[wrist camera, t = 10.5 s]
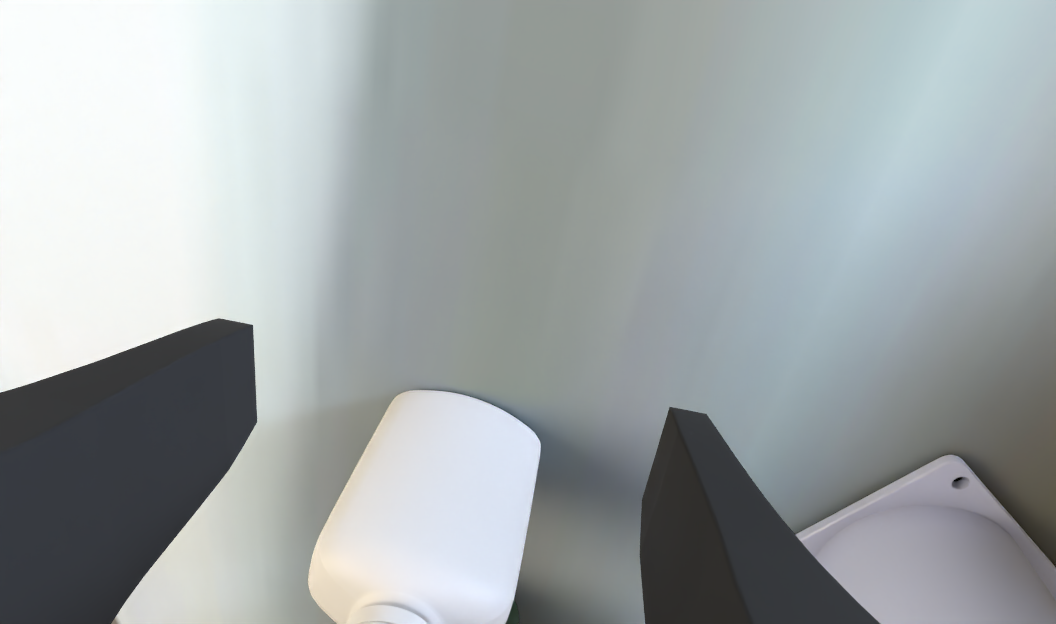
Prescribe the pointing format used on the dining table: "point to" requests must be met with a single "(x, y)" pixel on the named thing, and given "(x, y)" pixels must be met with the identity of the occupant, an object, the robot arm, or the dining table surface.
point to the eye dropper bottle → (430, 517)
